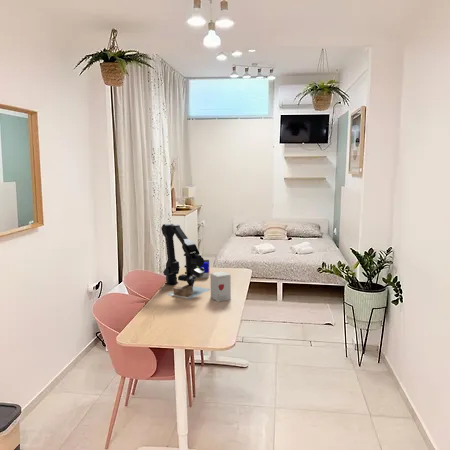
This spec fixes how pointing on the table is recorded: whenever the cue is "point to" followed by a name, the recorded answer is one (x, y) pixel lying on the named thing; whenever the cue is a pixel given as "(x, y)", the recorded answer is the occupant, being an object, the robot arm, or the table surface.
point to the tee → (183, 290)
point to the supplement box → (220, 286)
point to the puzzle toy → (205, 268)
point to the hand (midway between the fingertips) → (191, 288)
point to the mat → (195, 292)
